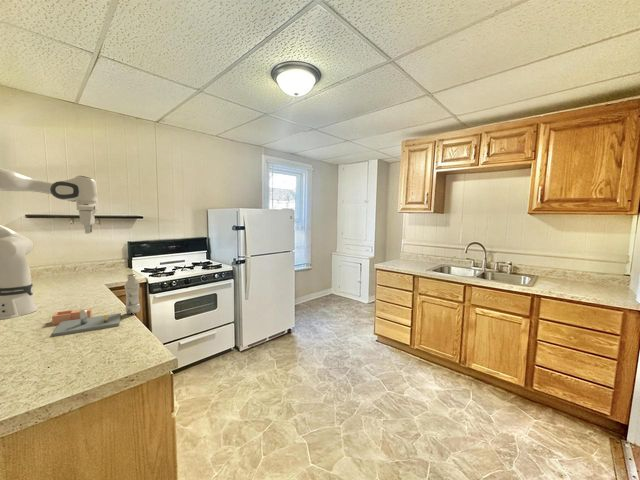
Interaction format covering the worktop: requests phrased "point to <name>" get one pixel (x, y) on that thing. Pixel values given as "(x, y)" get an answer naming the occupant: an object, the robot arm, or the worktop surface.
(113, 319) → the board
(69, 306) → the worktop surface
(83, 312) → the post
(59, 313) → the orange hollow block
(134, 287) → the plastic bottle
